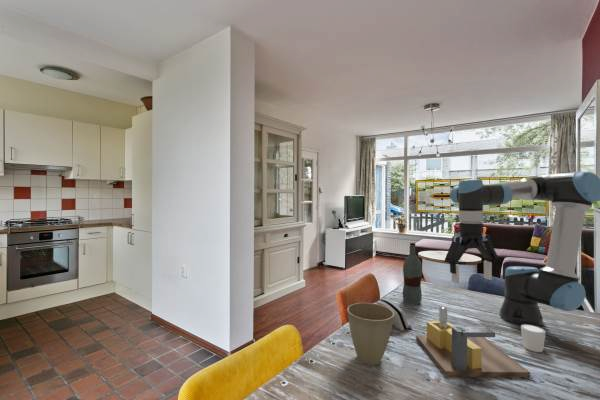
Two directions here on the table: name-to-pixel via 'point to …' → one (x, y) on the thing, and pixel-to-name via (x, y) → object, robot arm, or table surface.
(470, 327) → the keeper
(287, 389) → the table surface
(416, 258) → the bottle
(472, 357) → the link
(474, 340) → the board
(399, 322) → the white d-shaped block
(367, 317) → the plant pot
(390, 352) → the table surface
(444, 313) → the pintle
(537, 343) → the white cylinder
